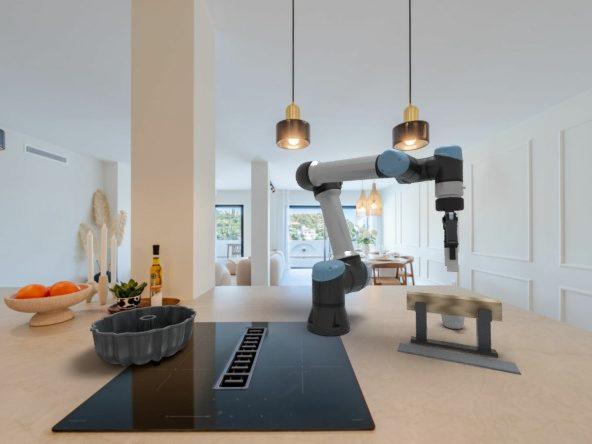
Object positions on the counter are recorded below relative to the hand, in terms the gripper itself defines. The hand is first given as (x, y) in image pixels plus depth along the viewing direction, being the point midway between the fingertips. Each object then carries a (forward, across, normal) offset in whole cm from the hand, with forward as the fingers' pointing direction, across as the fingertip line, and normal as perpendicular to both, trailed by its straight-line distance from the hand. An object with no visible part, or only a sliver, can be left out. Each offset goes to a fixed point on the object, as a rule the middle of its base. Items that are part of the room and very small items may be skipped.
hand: (450, 268), depth 81 cm
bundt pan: (+23, -42, +78) cm, 92 cm away
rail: (+13, 0, 0) cm, 13 cm away
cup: (+23, +19, -2) cm, 30 cm away
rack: (+23, 0, 0) cm, 23 cm away
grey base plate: (+23, -7, 0) cm, 24 cm away
